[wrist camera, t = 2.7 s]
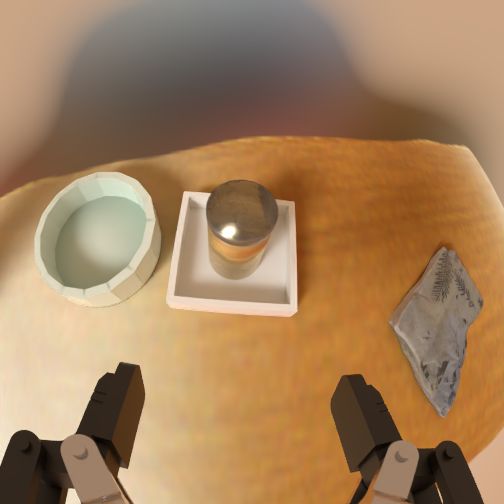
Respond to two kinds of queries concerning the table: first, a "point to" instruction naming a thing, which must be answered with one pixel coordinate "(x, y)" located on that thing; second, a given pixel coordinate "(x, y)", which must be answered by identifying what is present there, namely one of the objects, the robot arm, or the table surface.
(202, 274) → the parts tray
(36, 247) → the bowl
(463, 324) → the fossil rock
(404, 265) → the table surface
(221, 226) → the glass jar with lid
